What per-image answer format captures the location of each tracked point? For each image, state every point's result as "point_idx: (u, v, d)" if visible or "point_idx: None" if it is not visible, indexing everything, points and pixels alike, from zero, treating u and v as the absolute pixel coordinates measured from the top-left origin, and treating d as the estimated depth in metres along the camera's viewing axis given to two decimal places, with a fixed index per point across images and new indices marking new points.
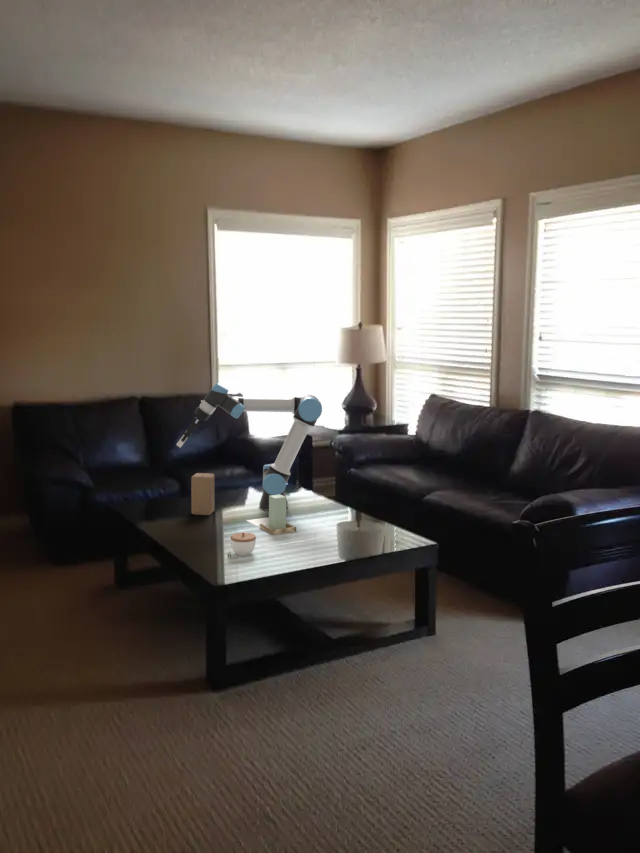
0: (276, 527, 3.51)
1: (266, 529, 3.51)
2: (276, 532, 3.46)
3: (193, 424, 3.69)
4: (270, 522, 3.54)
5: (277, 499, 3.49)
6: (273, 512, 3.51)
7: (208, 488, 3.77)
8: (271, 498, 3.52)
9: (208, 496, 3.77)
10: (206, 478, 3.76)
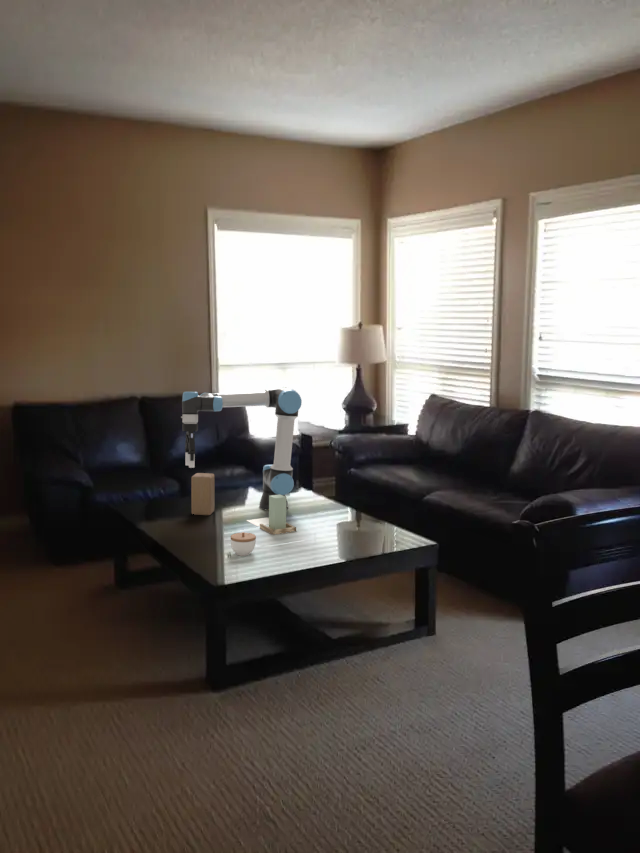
0: (276, 527, 3.51)
1: (266, 529, 3.51)
2: (276, 532, 3.46)
3: (191, 439, 3.58)
4: (270, 522, 3.54)
5: (277, 499, 3.49)
6: (273, 512, 3.51)
7: (208, 488, 3.77)
8: (271, 498, 3.52)
9: (208, 496, 3.77)
10: (206, 478, 3.76)
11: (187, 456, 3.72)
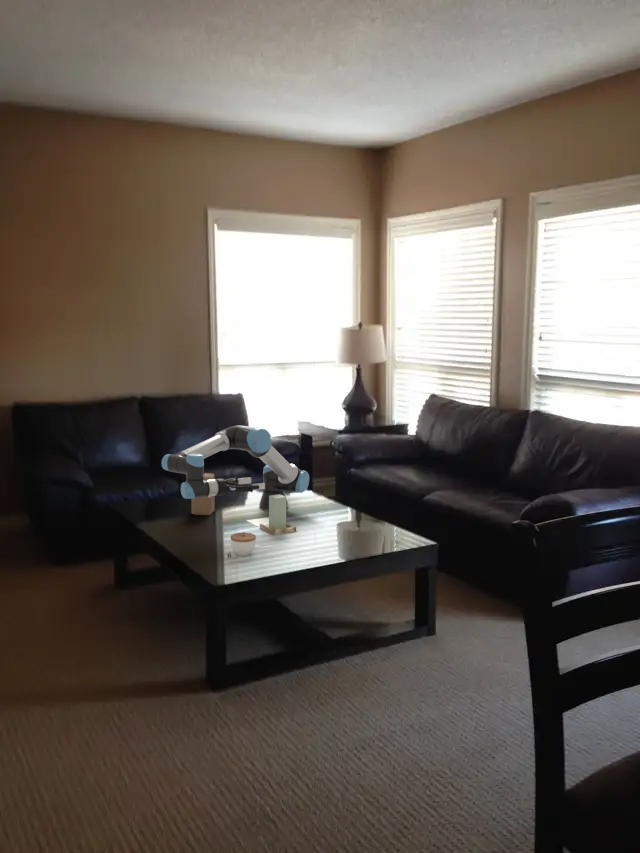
0: (276, 527, 3.51)
1: (266, 529, 3.51)
2: (276, 532, 3.46)
3: (238, 489, 3.33)
4: (270, 522, 3.54)
5: (277, 499, 3.49)
6: (273, 512, 3.51)
7: None
8: (271, 498, 3.52)
9: None
10: (206, 478, 3.76)
11: (242, 482, 3.49)
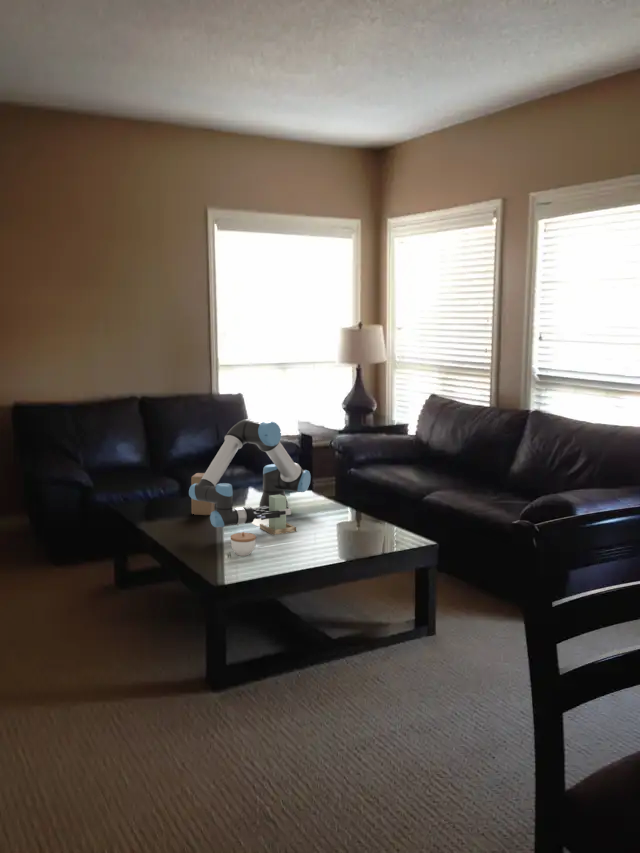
0: (276, 527, 3.51)
1: (266, 529, 3.51)
2: (276, 532, 3.46)
3: (267, 517, 3.44)
4: (270, 522, 3.54)
5: (277, 499, 3.49)
6: None
7: None
8: (271, 498, 3.52)
9: None
10: None
11: None
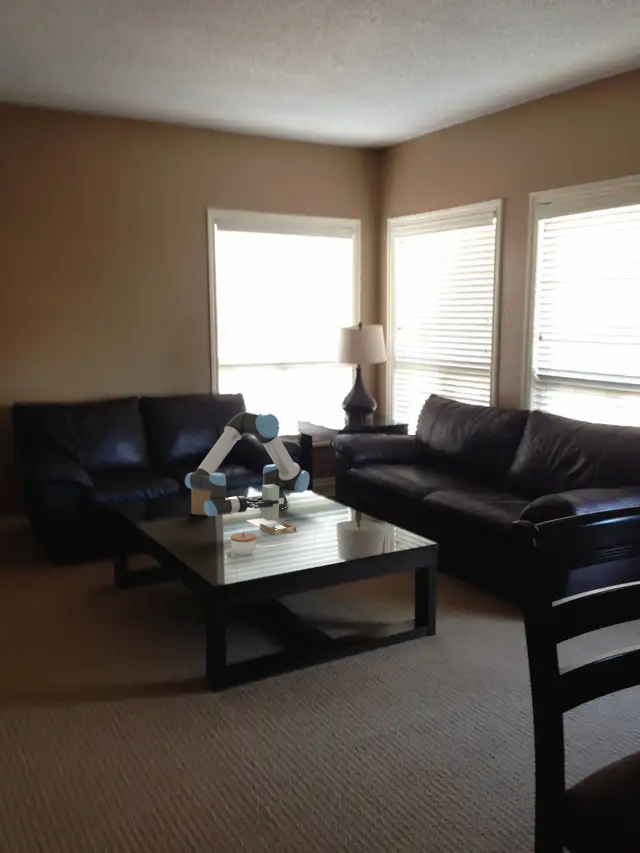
0: (269, 516, 3.55)
1: (266, 529, 3.51)
2: (276, 532, 3.46)
3: (260, 506, 3.48)
4: (263, 511, 3.58)
5: (270, 489, 3.54)
6: None
7: None
8: (264, 488, 3.56)
9: (208, 496, 3.77)
10: None
11: None
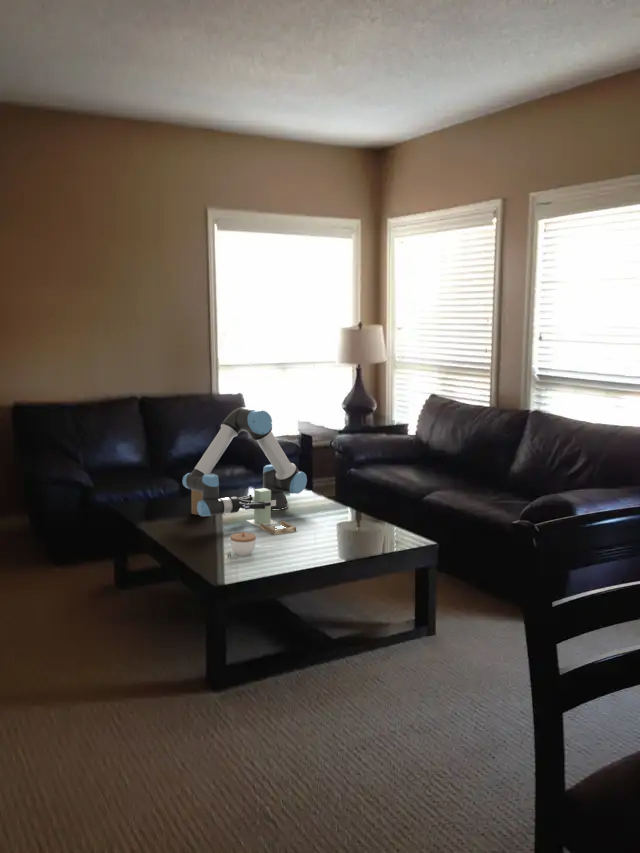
0: (261, 520, 3.63)
1: (266, 529, 3.51)
2: (276, 532, 3.46)
3: (251, 507, 3.55)
4: (255, 515, 3.66)
5: (262, 493, 3.62)
6: None
7: None
8: (256, 492, 3.64)
9: None
10: None
11: None
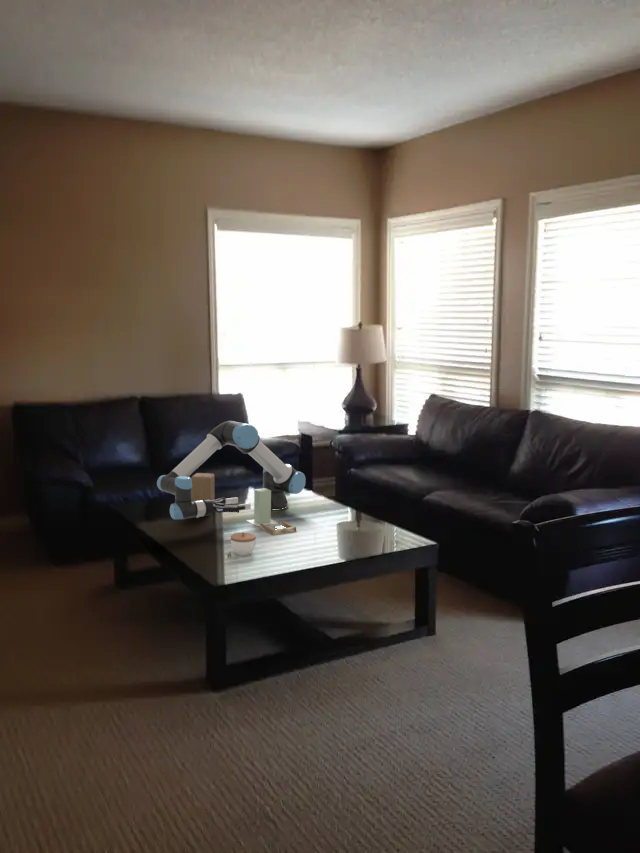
0: (261, 520, 3.63)
1: (266, 529, 3.51)
2: (276, 532, 3.46)
3: (225, 510, 3.47)
4: (255, 515, 3.66)
5: (262, 493, 3.62)
6: (258, 505, 3.64)
7: (208, 488, 3.77)
8: (256, 492, 3.64)
9: (208, 496, 3.77)
10: (206, 478, 3.76)
11: (229, 502, 3.64)
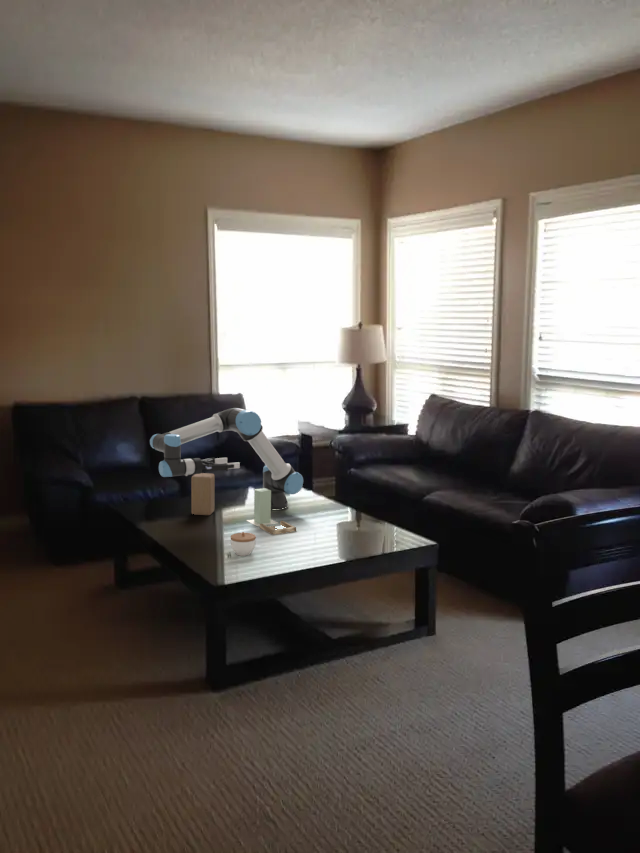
0: (261, 520, 3.63)
1: (266, 529, 3.51)
2: (276, 532, 3.46)
3: (214, 468, 3.49)
4: (255, 515, 3.66)
5: (262, 493, 3.62)
6: (258, 505, 3.64)
7: (208, 488, 3.77)
8: (256, 492, 3.64)
9: (208, 496, 3.77)
10: (206, 478, 3.76)
11: (219, 462, 3.65)
